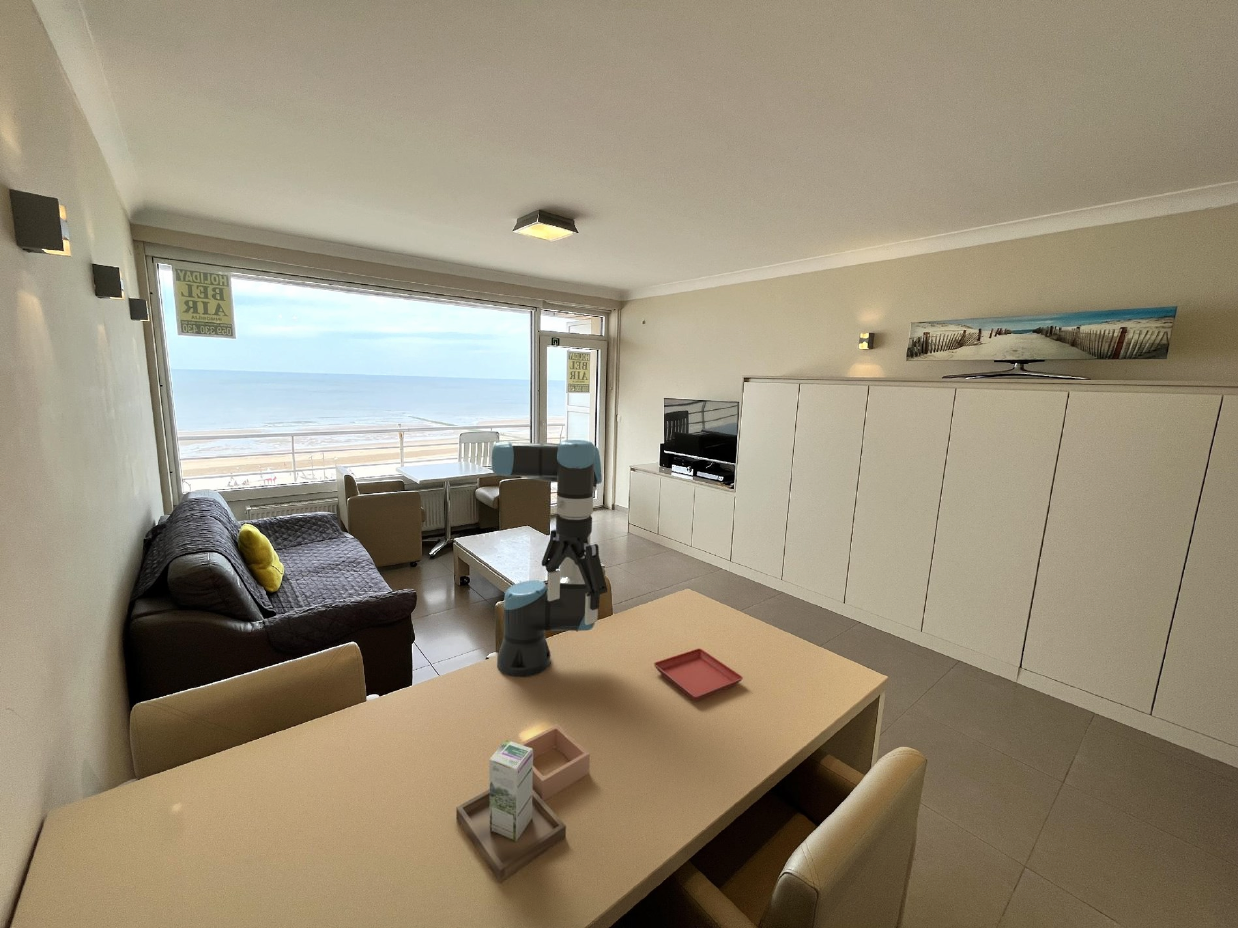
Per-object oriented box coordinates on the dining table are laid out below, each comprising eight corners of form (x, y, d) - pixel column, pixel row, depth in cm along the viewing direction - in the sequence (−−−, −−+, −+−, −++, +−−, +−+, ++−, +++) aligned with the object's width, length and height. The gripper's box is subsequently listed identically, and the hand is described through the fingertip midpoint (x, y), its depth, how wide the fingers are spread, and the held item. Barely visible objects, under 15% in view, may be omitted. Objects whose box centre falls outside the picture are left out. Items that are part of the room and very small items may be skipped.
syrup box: (533, 817, 93) (534, 746, 91) (515, 843, 88) (516, 768, 85) (506, 807, 95) (507, 737, 93) (487, 832, 90) (488, 758, 87)
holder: (510, 767, 106) (511, 747, 105) (556, 743, 114) (556, 724, 113) (542, 801, 98) (542, 780, 97) (588, 773, 105) (589, 753, 105)
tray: (456, 818, 93) (456, 807, 93) (518, 783, 102) (518, 773, 101) (500, 883, 81) (500, 870, 81) (565, 837, 90) (565, 825, 90)
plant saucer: (743, 687, 139) (744, 676, 139) (694, 708, 129) (695, 696, 129) (699, 657, 154) (699, 647, 153) (651, 673, 144) (652, 662, 143)
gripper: (527, 504, 112) (525, 594, 116) (598, 533, 94) (593, 639, 97) (555, 500, 117) (553, 586, 120) (628, 526, 99) (623, 627, 102)
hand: (571, 610), depth 109 cm, fingers open, 13 cm apart
